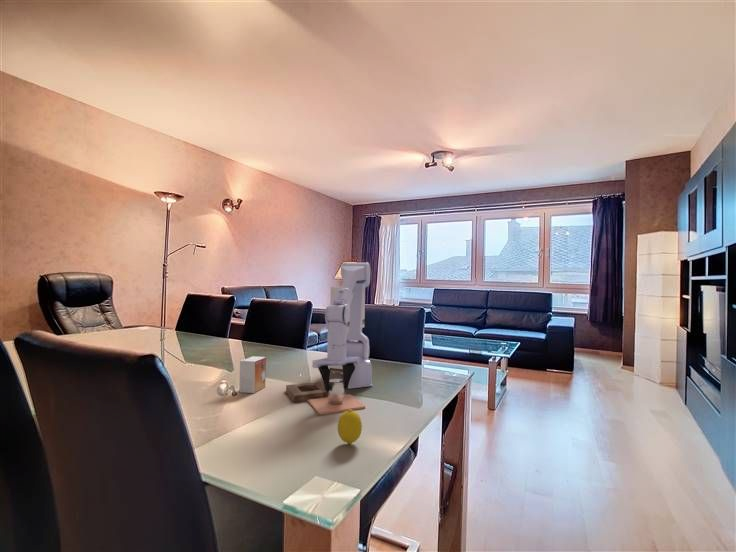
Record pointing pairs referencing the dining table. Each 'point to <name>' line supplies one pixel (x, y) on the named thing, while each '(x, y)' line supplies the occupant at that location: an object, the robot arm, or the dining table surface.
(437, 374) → the dining table surface
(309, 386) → the bore block
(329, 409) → the tile
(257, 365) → the small box
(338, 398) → the end cover
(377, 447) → the dining table surface
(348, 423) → the lemon
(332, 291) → the white tall column
